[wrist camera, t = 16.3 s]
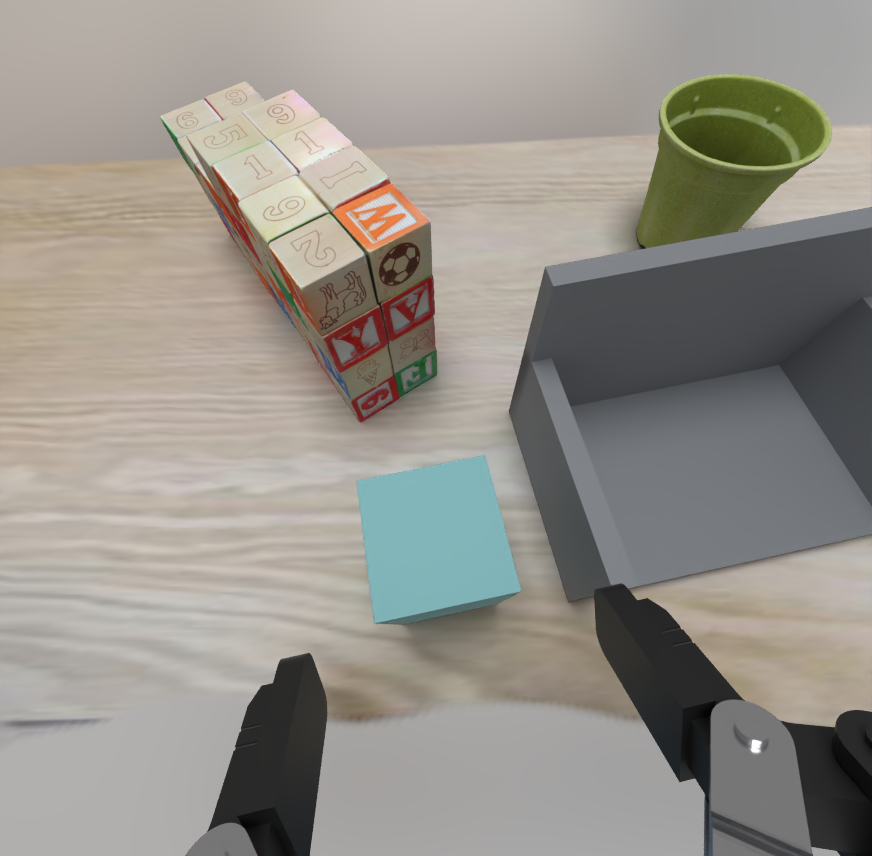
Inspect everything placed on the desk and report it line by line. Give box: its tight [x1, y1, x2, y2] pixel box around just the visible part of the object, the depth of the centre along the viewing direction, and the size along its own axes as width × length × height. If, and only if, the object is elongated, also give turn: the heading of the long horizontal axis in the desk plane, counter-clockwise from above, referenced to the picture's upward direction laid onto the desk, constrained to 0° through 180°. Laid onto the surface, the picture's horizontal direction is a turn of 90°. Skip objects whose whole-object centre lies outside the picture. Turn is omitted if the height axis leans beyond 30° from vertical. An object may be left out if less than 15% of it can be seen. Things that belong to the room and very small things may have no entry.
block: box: [357, 455, 521, 625], centre depth 19 cm, size 5×5×9 cm
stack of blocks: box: [160, 82, 437, 422], centre depth 26 cm, size 21×6×12 cm, turn 35°
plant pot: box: [637, 74, 832, 248], centre depth 29 cm, size 9×9×9 cm
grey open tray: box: [509, 207, 872, 602], centre depth 20 cm, size 12×18×12 cm, turn 101°
